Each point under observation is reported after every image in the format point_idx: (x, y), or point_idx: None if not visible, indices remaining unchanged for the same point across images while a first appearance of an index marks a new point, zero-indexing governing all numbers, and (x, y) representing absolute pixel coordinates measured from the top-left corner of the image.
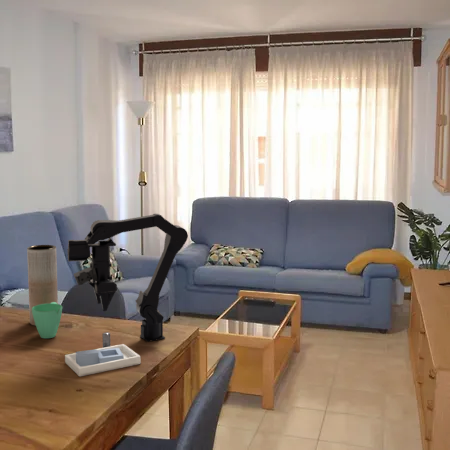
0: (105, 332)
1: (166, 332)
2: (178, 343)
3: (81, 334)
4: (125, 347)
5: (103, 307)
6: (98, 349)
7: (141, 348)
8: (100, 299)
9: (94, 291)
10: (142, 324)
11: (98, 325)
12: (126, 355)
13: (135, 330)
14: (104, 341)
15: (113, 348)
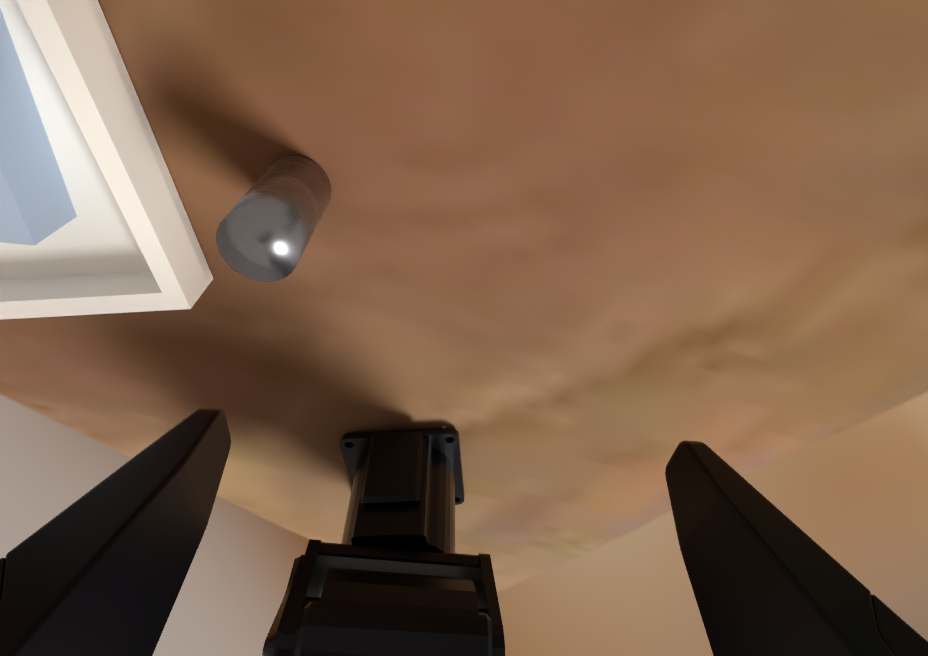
0: (295, 249)
1: (460, 526)
2: (273, 519)
3: (787, 99)
4: (97, 296)
5: (142, 461)
6: (57, 70)
7: (241, 377)
8: (690, 527)
9: (921, 642)
10: (412, 507)
11: (870, 293)
12: (68, 263)
13: (585, 438)
14: (249, 191)
15: (9, 202)
